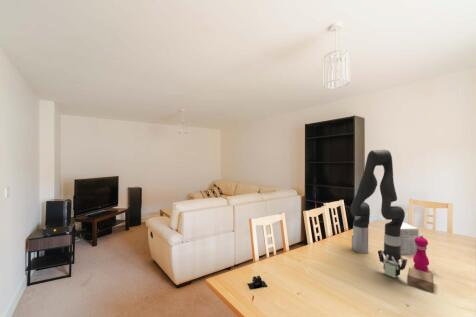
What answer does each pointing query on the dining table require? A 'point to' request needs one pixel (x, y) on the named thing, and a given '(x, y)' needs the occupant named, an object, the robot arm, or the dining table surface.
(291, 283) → the dining table surface
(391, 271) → the green block
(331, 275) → the dining table surface
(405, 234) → the supplement box
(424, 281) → the walnut box
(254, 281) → the black irregular piece
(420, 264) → the pepper mill
